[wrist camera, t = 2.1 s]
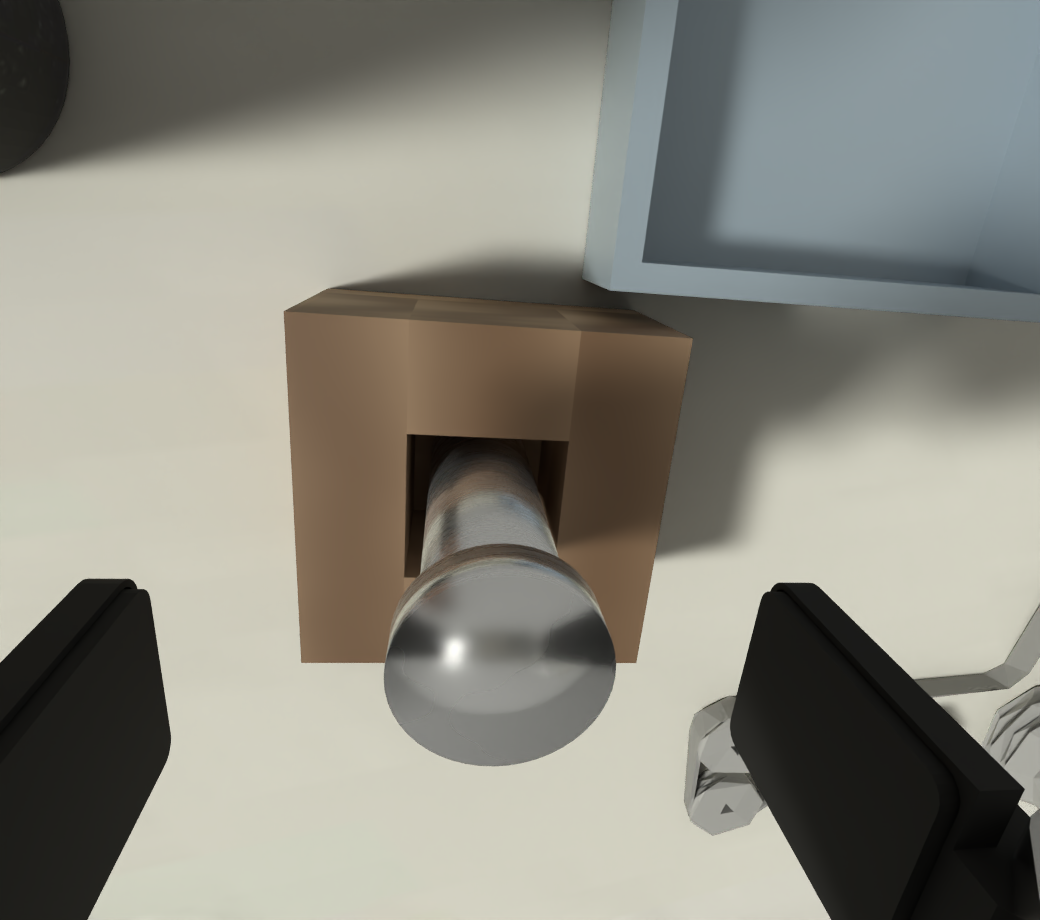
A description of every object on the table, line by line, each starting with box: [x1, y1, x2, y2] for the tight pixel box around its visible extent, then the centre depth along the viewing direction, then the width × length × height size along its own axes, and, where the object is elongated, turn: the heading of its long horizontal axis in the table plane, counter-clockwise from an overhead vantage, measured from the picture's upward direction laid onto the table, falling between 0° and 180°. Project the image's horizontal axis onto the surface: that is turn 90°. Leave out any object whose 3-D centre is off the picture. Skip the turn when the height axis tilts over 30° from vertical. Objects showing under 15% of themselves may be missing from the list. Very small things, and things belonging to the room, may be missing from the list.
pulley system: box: [684, 606, 1040, 836], centre depth 24 cm, size 27×5×15 cm
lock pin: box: [384, 435, 616, 766], centre depth 14 cm, size 4×4×10 cm
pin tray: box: [582, 0, 1040, 323], centre depth 15 cm, size 12×12×4 cm
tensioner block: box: [284, 288, 693, 663], centre depth 18 cm, size 9×9×5 cm
